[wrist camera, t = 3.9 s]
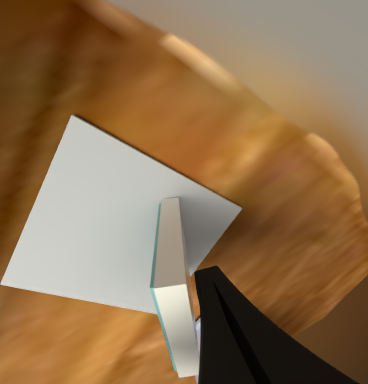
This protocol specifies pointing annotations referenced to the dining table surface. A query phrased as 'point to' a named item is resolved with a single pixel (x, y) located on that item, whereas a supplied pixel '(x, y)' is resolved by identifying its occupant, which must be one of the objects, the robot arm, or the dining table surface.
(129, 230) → the felt pad
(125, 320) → the dining table surface
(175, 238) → the tile
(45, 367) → the dining table surface
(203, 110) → the dining table surface
